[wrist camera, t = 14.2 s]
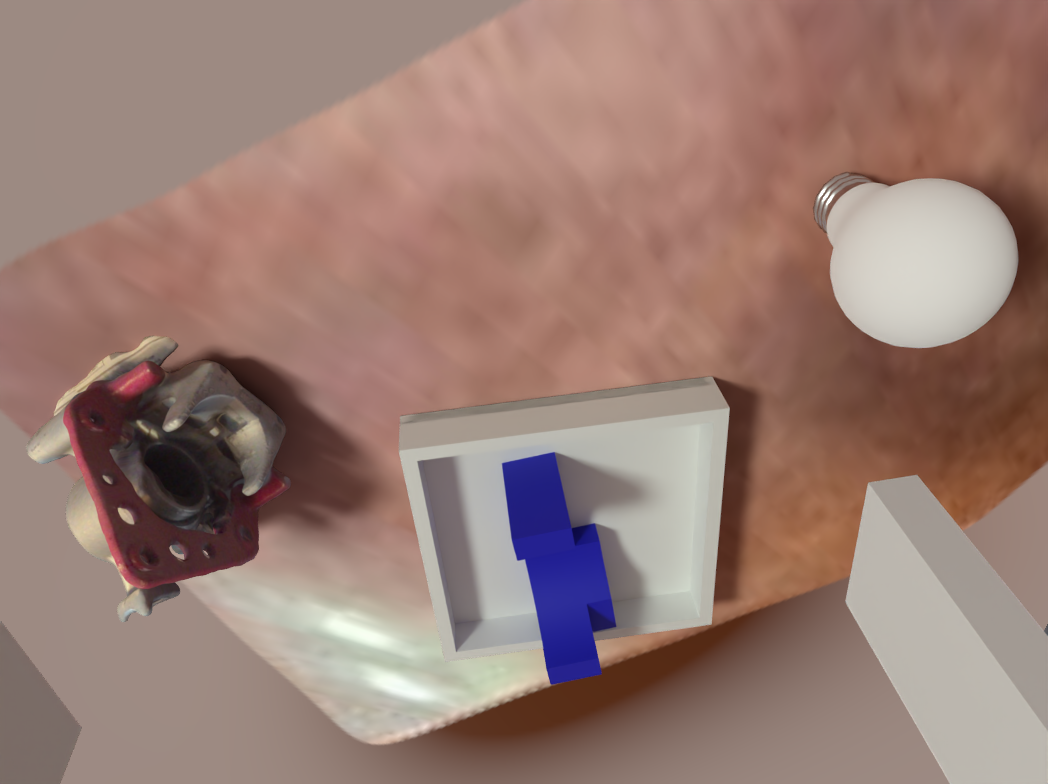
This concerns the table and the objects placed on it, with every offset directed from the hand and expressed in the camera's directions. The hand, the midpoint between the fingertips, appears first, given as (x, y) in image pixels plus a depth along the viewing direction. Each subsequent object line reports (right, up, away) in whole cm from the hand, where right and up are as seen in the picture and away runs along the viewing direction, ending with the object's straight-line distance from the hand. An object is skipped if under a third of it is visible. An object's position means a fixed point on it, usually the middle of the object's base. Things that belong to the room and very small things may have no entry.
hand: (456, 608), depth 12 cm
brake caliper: (-16, +2, +29) cm, 33 cm away
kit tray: (+4, -4, +35) cm, 35 cm away
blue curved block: (+3, -5, +35) cm, 35 cm away
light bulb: (+16, +13, +25) cm, 33 cm away
